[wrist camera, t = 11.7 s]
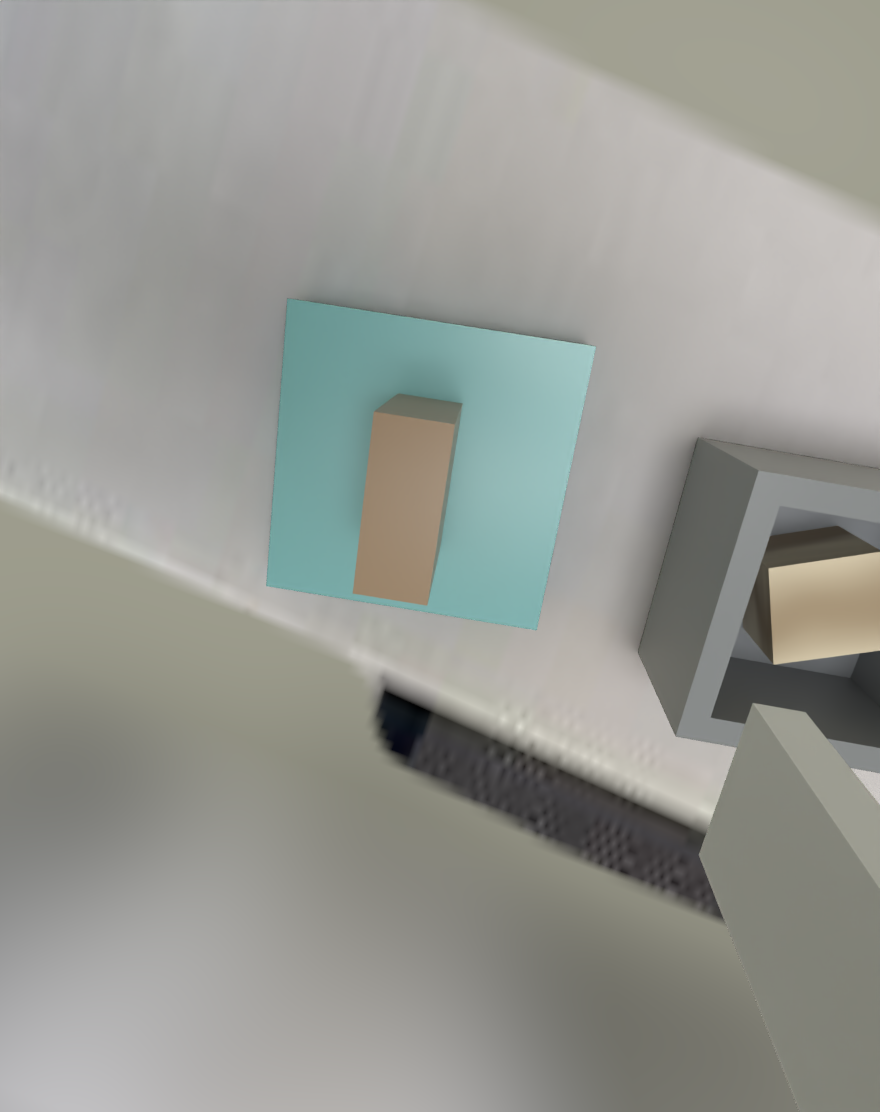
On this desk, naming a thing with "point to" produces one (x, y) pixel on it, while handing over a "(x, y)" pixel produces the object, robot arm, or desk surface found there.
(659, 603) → the storage box
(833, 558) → the birch block
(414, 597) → the lid
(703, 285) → the desk surface
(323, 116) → the desk surface
